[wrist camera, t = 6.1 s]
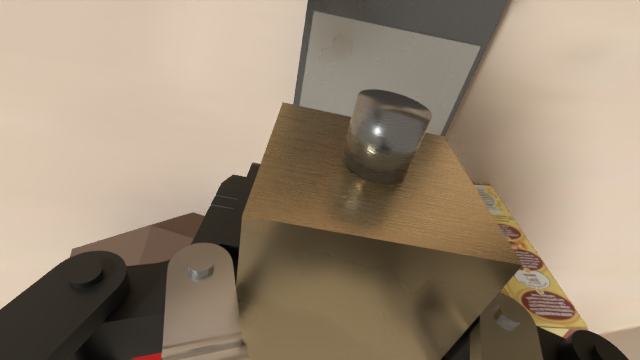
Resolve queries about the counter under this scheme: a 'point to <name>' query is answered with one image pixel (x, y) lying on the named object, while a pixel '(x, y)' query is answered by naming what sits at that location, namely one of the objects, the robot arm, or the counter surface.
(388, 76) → the press bed
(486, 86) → the counter surface
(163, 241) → the brown cauldron
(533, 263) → the candy box
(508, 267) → the block
